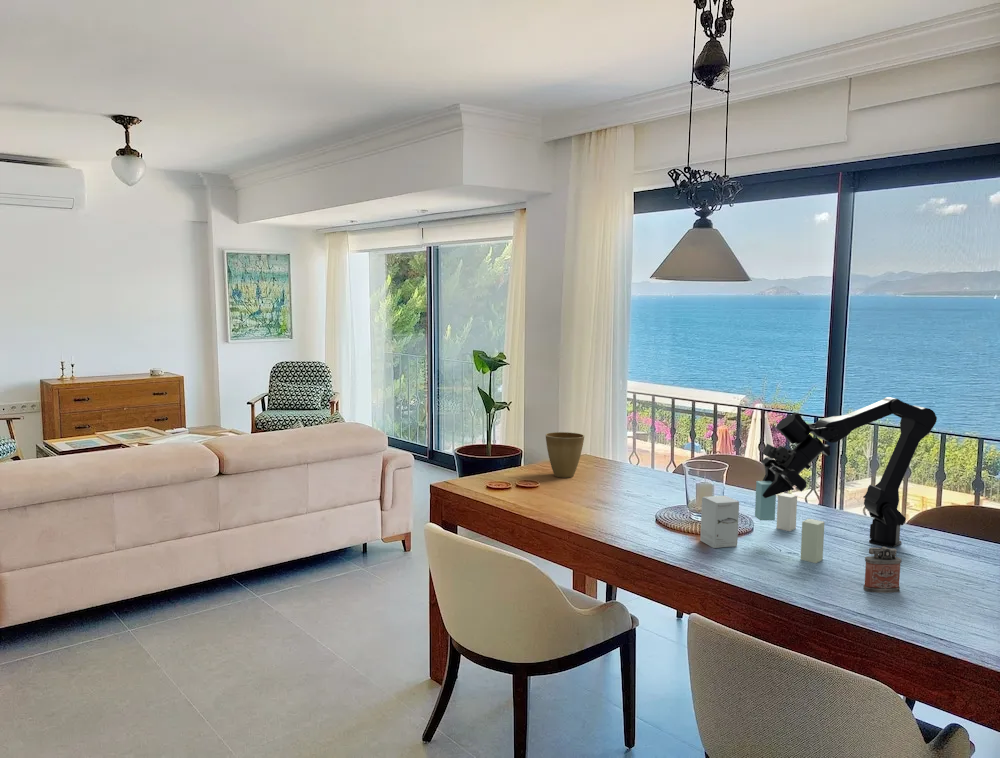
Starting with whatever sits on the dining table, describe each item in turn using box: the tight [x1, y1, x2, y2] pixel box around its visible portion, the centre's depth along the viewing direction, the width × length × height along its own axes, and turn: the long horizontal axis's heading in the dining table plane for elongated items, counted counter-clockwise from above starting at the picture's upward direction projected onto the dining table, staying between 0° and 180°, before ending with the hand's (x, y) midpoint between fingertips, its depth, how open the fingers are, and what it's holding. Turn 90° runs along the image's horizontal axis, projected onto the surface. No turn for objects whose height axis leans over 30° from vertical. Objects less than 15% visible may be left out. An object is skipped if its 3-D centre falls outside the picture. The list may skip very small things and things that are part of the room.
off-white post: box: [776, 492, 798, 532], centre depth 217 cm, size 4×4×10 cm
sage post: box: [800, 518, 825, 564], centre depth 190 cm, size 4×4×10 cm
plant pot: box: [545, 431, 585, 479], centre depth 284 cm, size 15×15×16 cm
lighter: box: [863, 546, 902, 594], centre depth 169 cm, size 8×3×10 cm, turn 92°
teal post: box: [754, 480, 777, 521], centre depth 203 cm, size 4×4×10 cm
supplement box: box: [699, 495, 740, 549], centre depth 202 cm, size 7×7×13 cm
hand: (760, 494), depth 202 cm, fingers closed on teal post, 4 cm apart
